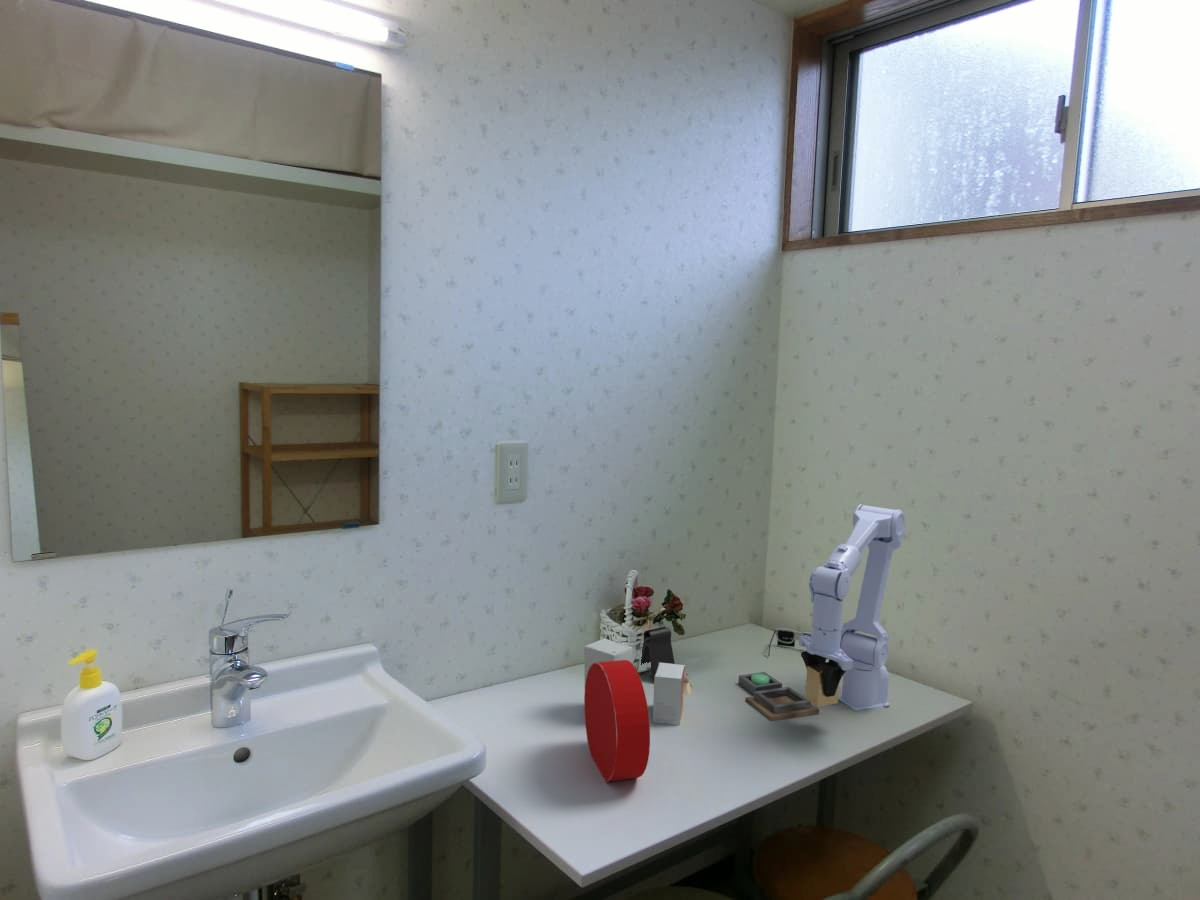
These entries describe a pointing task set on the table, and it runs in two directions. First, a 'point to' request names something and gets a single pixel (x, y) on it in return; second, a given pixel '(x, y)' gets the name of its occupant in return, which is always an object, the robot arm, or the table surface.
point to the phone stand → (657, 648)
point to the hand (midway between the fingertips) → (822, 691)
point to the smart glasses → (786, 637)
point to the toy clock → (617, 720)
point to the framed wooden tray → (781, 704)
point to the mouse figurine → (687, 684)
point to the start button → (760, 679)
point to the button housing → (751, 687)
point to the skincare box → (606, 653)
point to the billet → (818, 687)
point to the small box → (668, 693)
